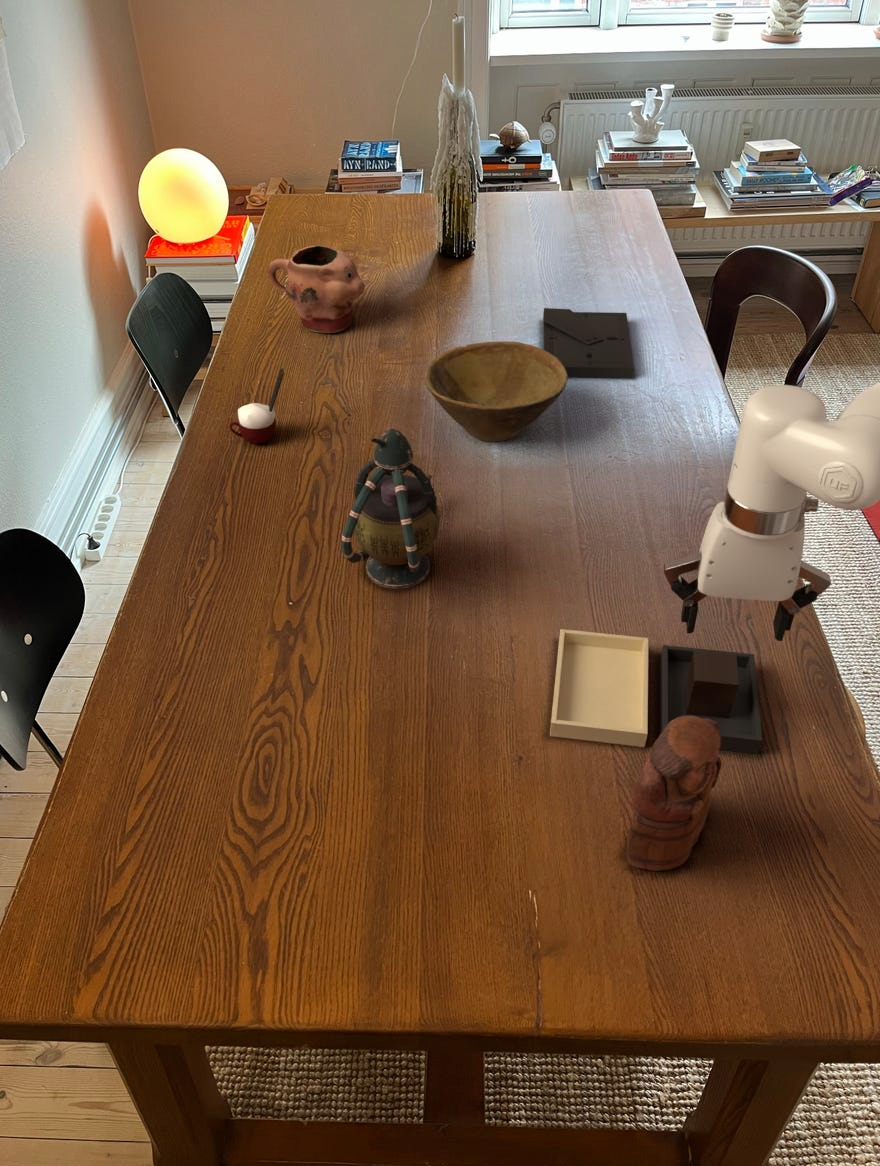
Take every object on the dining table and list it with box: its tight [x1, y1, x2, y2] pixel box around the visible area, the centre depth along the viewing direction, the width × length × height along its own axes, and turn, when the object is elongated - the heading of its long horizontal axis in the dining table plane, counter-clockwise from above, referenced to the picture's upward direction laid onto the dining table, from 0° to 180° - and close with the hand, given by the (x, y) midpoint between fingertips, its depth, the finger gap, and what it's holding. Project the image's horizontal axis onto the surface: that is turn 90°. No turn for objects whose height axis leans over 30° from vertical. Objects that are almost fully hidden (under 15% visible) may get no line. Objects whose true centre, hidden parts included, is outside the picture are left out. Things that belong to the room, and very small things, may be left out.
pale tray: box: [549, 628, 649, 748], centre depth 124 cm, size 11×16×2 cm
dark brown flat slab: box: [542, 307, 635, 379], centre depth 185 cm, size 16×3×21 cm
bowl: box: [424, 340, 569, 443], centre depth 165 cm, size 22×23×10 cm
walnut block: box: [685, 651, 739, 718], centre depth 121 cm, size 5×5×6 cm
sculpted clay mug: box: [267, 245, 366, 334], centre depth 192 cm, size 20×12×14 cm, turn 73°
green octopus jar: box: [340, 427, 441, 590], centre depth 138 cm, size 12×25×23 cm, turn 165°
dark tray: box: [659, 644, 763, 755], centre depth 122 cm, size 11×14×2 cm
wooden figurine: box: [626, 716, 723, 872], centre depth 103 cm, size 12×6×18 cm, turn 144°
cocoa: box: [229, 368, 285, 445], centre depth 164 cm, size 10×6×12 cm, turn 78°
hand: (733, 628), depth 114 cm, fingers open, 9 cm apart
